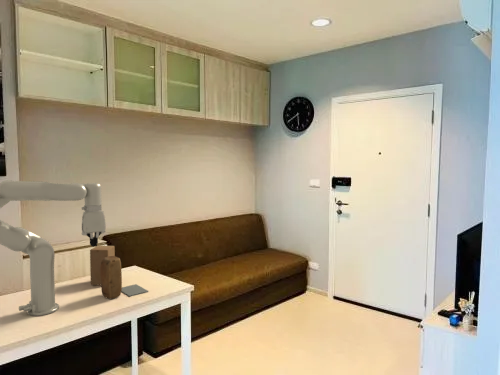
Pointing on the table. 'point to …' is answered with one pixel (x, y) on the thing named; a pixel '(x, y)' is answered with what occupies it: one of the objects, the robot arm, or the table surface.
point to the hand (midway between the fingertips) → (93, 245)
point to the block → (111, 277)
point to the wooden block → (99, 261)
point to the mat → (133, 290)
